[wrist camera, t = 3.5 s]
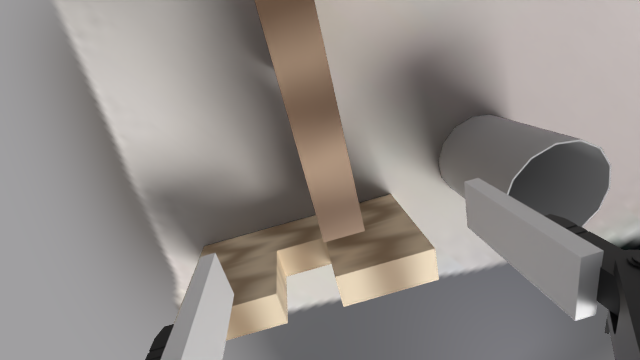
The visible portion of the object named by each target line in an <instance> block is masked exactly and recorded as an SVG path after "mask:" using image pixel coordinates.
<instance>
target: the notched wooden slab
mask: <svg viewBox="0 0 640 360" xmlns="http://www.w3.org/2000/svg"><path fill="white" fill-rule="evenodd" d="M359 206H360V211H361V215H362V220H363V224H364V229H365V231H363V232H359V233H356V234H352V235H349V236H345V237H342V238H338V239H335V240H331V241H328V242H324V241H323V237H322V234H321V230H320V227H319V223H318V220H317V216H316V215H314V216H310V217H307V218H303V219H300V220H296V221H293V222H289V223H285V224H282V225H278V226H275V227H271V228H268V229H264V230H260V231H257V232H253V233H250V234H246V235H243V236H239V237H235V238H232V239H228V240H225V241H221V242H218V243H214V244H210V245H207V246H204V248H203V251H202V253H201V256H200V257H202V256H205V255H209V254H212V253H216V255H217V257H218V260H219V262H220V264H221V266H222V268H223V271H224V273H225V275H226V277H227V280H228V282H229V284H230V286H231V288H232V291H233V293H234V298H233V304H232V309H231V315H230V320H229V326H228V331H227V337H226V340H229V339H233V338H237V337H240V336H244V335H247V334H250V333H254V332H258V331H261V330H265V329H268V328H272V327H275V326H279V325H282V324H285V323H288V314H287V285H286V277H287V276H290V275H294V274H297V273H301V272H304V271H308V270H311V269H315V268H318V267H322V266H325V265H329V264H332V267H333V270H334V274H335V278H336V282H337V285H338V289H339V292H340V296H341V299H342V303H343V306H344V307H345V306H348V305H351V304H355V303H358V302H362V301H365V300H369V299H372V298H376V297H380V296H383V295H387V294H390V293H393V292H397V291H400V290H404V289H407V288H411V287H414V286H418V285H421V284H425V283H428V282H432V281H435V280H438V279H439V277H438V268H437V260H436V252H435V248H434V247H433V245H432V244H431V243H430V242H429V240H428V239H427V238H426V237H425V236H424V234H423V233H422V232H421V231H420V229H419V228H418V227H417V226H416V224H415V223H414V222H413V221H412V220H411V218H410V217H409V216H408V215H407V213H406V212H405V211H404V210H403V209H402V207H401V206H400V205H399V204H398V202H397V201H396V200H395V199H394V197H393V196H392V195H391V194H389V195H386V196H382V197H378V198H375V199H371V200H368V201H364V202H361V203H359ZM199 259H200V258H199ZM198 262H199V261H198ZM197 264H198V263H197ZM196 267H197V266H196ZM195 270H196V268H195ZM194 272H195V271H194ZM193 275H194V274H193ZM192 277H193V276H192ZM191 280H192V279H191ZM190 282H191V281H190ZM189 285H190V284H189ZM188 288H189V286H188ZM187 290H188V289H187ZM186 293H187V291H186ZM185 295H186V294H185ZM184 298H185V297H184ZM183 300H184V299H183ZM182 303H183V302H182ZM181 306H182V304H181ZM180 308H181V307H180ZM179 311H180V309H179ZM178 313H179V312H178ZM177 316H178V314H177ZM176 318H177V317H176ZM175 321H176V320H175ZM174 323H175V322H174Z"/></svg>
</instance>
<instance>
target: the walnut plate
mask: <svg viewBox="0 0 640 360" xmlns="http://www.w3.org/2000/svg"><path fill="white" fill-rule="evenodd" d="M255 4H256V7H257V11H258V14H259V18H260V21H261V25H262V28H263V32H264V35H265V39H266V42H267V45H268V49H269V52H270V56H271V59H272V63H273V66H274V70H275V73H276V77H277V80H278V84H279V87H280V91H281V94H282V98H283V101H284V105H285V108H286V112H287V115H288V119H289V122H290V126H291V129H292V133H293V136H294V140H295V143H296V147H297V150H298V154H299V157H300V161H301V164H302V168H303V171H304V175H305V178H306V182H307V185H308V189H309V192H310V196H311V199H312V202H313V206H314V209H315V213H316V216H317V220H318V223H319V227H320V230H321V234H322V237H323V241H324V242H328V241H331V240H335V239H338V238H342V237H345V236H349V235H352V234H356V233H359V232H363V231H365V229H364V224H363V220H362V215H361V211H360V206H359V202H358V197H357V192H356V188H355V183H354V179H353V174H352V170H351V165H350V161H349V156H348V152H347V147H346V143H345V138H344V134H343V129H342V124H341V120H340V115H339V111H338V106H337V102H336V97H335V93H334V88H333V84H332V79H331V75H330V70H329V66H328V61H327V57H326V52H325V47H324V43H323V38H322V34H321V29H320V25H319V20H318V16H317V11H316V7H315V2H314V0H255Z"/></svg>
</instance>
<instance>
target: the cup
mask: <svg viewBox="0 0 640 360" xmlns="http://www.w3.org/2000/svg"><path fill="white" fill-rule="evenodd" d="M438 162H439V167H440V172H441V177H442V178H443V179H444V181H445V182H446V183H447V184H448V185H449V186H450V187H451V188H452V189H453V190H454V191H456V192H457V193H458V194H460V195H461V196H462V197H463V198H465V186H464V182H465V181H469V180H472V179H476V178H480V179H481V180H483V181H485V182H487V183H488V184H490V185H492V186H493V187H495V188H497V189H499V190H500V191H502V192H504V193H505V194H507V195H509V196H511V197H512V198H514V199H516V200H517V201H519V202H521V203H523V204H524V205H526V206H528V207H529V208H531V209H533V210H535V211H536V212H538V213H540V214H541V215H543V216H544V215H548V214H553V215H556V216H559V217H563V218H566V219H568V220H569V221H571V222H573V223H575V224H577V226H580V227H583V226H584V225H585V224H586V223H587V222H588V221H589V220H590V219H591V218H592V217H593V216H594V215H595V214H596V213H597V212H598V211H599V210H600V208H601V205H602V203H603V201H604V199H605V197H606V195H607V193H608V191H609V189H610V184H611V163H610V162H609V160H608V158H607V157H606V155H605V153H604V151H603V150H602V148H601V147H599V146H596V145H594V144H591V143H589V142H587V141H584V140H582V139H578V138H574V137H571V136H567V135H563V134H560V133H556V132H552V131H549V130H545V129H542V128H538V127H534V126H531V125H527V124H523V123H520V122H516V121H512V120H509V119H505V118H501V117H498V116H494V115H483V116H475V117H471V118H470V119H468V120H466V121H465V122H463V123H461V124H460V125H458V126H457V127H455V128H454V130H453V131H452V132H451V134H450V135H449V136H448V138H447V139H446V140H445V141H444V143H443V146H442V149H441V153H440V157H439V161H438Z"/></svg>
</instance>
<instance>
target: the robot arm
mask: <svg viewBox="0 0 640 360" xmlns="http://www.w3.org/2000/svg"><path fill="white" fill-rule="evenodd" d="M464 186H465V199H466V213H467V226H468V228H469V229H471V230H472V231H473V232H474V233H475V234H476V235H477V236H479V237H480V238H481V239H482V240H483V241H484V242H485V243H487V244H488V245H489V246H490V247H491V248H492V249H493V250H495V251H496V252H497V253H498V254H499V255H500V256H501V257H503V258H504V259H505V260H506V261H507V262H508V263H510V264H511V265H512V266H513V267H514V268H515V269H516V270H517V271H519V272H520V273H521V274H522V275H523V276H524V277H526V278H527V279H528V280H529V281H530V282H531V283H532V284H534V285H535V286H536V287H537V288H538V289H539V290H540V291H542V292H543V293H544V294H545V295H546V296H547V297H548V298H550V299H551V300H552V301H553V302H554V303H555V304H556V305H558V306H559V307H560V308H561V309H562V310H563V311H564V312H566V313H567V314H568V315H569V316H570V317H572V319H574V320H575V321H576V320H579V319H583V318H586V317H589V316H592V315H596V308H597V301H598V302H599V303H601V304H602V305H603V306H605V307H606V308H607V309H608V314H607V321H606V328H605V333H607V334H609V332H610V335H611V341H612V346H613V351H614V357H615V360H640V250H625V251H624V250H622V249H621V248H619V247H617V246H615V245H613V244H611V243H610V242H608V241H606V240H604V239H602V238H601V237H599V236H597V235H595V234H593V233H591V232H590V231H589V232H588V231H587V230H586V229H584V228H582V227H580V226H577V224H575V223H573V222H571V221H569V220H568V219H566V218H563V217H559V216H556V215H553V214H548V215H544V216H543V215H541V214H540V213H538V212H536V211H535V210H533V209H531V208H529V207H528V206H526V205H524V204H523V203H521V202H519V201H517V200H516V199H514V198H512V197H511V196H509V195H507V194H505V193H504V192H502V191H500V190H499V189H497V188H495V187H493V186H492V185H490V184H488V183H487V182H485V181H483V180H481V179H480V178H476V179H472V180H469V181H465V182H464ZM233 298H234V293H233V291H232V288H231V286H230V284H229V282H228V280H227V277H226V275H225V273H224V271H223V268H222V266H221V264H220V262H219V260H218V257H217V255H216V253H212V254H209V255H205V256H202V257H200V259H199V262H198V264H197V267H196V270H195V272H194V275H193V277H192V280H191V282H190V285H189V288H188V290H187V293H186V295H185V298H184V300H183V303H182V306H181V308H180V311H179V313H178V316H177V318H176V321H175V324H172V325H169V326H165V327H164V328H163V329H162V330H161V331H160V333H159V334H158V335H157V336H156V338H155V339H154V341H153V344H152V346H151V348H150V350H149V351H150V352H149V353H148V355H147V357H146V359H145V360H222V359H223V353H224V348H225V342H226V337H227V331H228V326H229V320H230V315H231V309H232V304H233Z"/></svg>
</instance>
